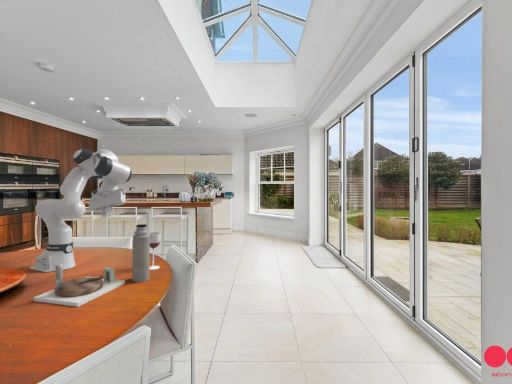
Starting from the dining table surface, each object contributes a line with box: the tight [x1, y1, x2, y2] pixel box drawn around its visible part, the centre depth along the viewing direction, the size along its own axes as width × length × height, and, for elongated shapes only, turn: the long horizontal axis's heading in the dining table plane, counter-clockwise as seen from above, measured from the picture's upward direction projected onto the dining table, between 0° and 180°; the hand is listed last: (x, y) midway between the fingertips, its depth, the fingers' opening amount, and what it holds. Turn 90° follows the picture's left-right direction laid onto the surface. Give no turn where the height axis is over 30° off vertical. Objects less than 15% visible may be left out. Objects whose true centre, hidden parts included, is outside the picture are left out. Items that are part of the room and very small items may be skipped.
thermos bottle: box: [131, 224, 151, 283], centre depth 140 cm, size 8×8×28 cm
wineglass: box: [148, 231, 162, 271], centre depth 161 cm, size 8×9×20 cm
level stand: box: [33, 266, 126, 308], centre depth 123 cm, size 22×27×8 cm
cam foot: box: [54, 265, 106, 297], centre depth 122 cm, size 20×18×12 cm
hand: (105, 215), depth 143 cm, fingers closed
